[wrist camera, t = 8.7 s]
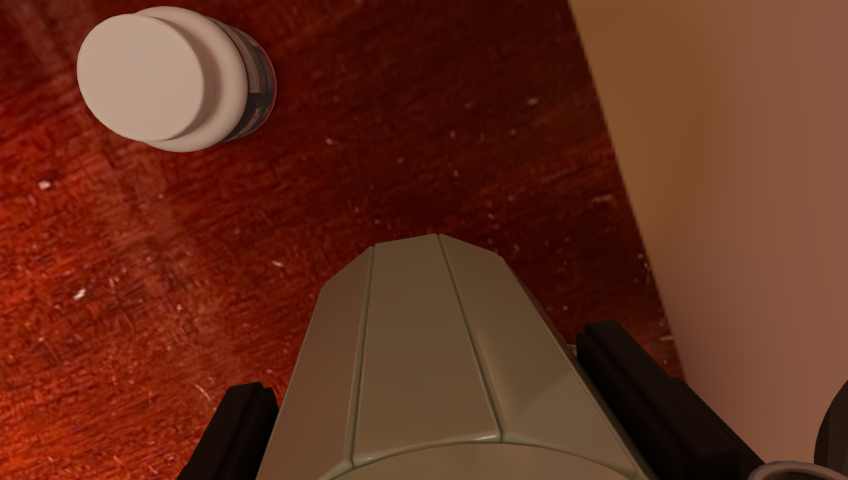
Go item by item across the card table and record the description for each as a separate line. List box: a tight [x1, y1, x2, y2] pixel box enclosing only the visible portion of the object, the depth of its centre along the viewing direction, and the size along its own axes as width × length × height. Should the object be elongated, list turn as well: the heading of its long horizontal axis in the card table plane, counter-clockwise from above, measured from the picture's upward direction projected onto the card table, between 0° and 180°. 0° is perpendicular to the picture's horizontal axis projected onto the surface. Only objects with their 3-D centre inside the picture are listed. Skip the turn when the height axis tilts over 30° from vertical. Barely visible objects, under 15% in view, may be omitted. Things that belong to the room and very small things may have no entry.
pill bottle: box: [77, 6, 277, 152], centre depth 21 cm, size 5×5×9 cm
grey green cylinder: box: [255, 234, 661, 480], centre depth 9 cm, size 6×6×8 cm
